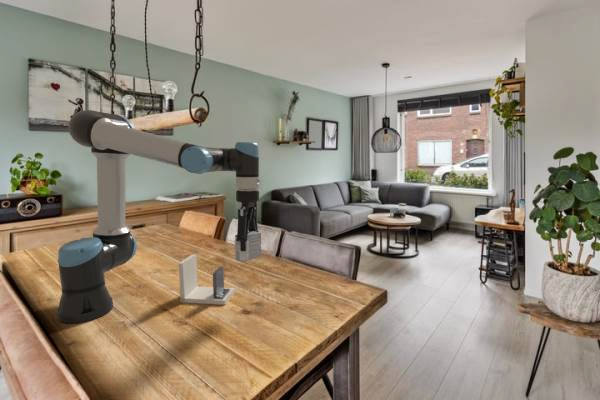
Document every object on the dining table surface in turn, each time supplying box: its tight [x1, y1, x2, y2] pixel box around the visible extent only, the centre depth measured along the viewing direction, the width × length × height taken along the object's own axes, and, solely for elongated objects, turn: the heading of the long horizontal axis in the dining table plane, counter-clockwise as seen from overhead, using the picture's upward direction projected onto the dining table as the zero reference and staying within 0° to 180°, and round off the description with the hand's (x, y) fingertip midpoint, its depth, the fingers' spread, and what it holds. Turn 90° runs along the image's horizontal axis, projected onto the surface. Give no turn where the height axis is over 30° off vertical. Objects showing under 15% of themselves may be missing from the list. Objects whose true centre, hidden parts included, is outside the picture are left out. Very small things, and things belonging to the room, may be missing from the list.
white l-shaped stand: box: [178, 253, 236, 306], centre depth 115 cm, size 16×10×14 cm, turn 83°
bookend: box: [212, 266, 230, 299], centre depth 114 cm, size 3×7×9 cm, turn 173°
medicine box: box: [234, 231, 262, 263], centre depth 109 cm, size 8×4×9 cm, turn 141°
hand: (248, 255), depth 109 cm, fingers closed on medicine box, 9 cm apart
